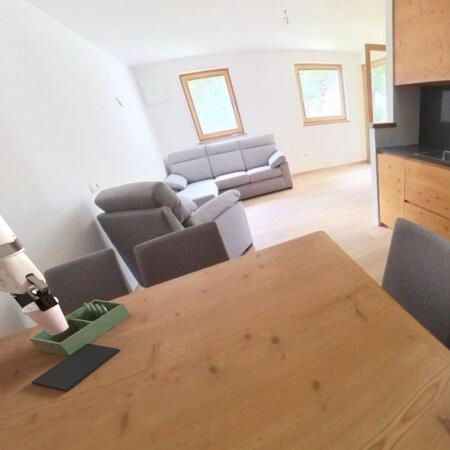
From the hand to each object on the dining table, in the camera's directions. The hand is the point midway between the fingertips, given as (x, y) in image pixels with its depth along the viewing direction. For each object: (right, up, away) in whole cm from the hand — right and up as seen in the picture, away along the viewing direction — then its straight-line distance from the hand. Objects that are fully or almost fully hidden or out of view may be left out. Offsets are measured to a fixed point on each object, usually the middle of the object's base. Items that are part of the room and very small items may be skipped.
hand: (40, 305), depth 76 cm
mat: (+12, -16, -1) cm, 20 cm away
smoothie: (0, -8, +4) cm, 9 cm away
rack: (+2, -11, +10) cm, 15 cm away
